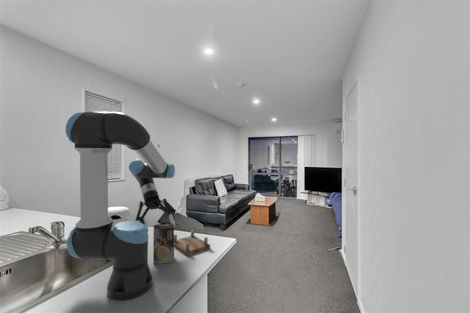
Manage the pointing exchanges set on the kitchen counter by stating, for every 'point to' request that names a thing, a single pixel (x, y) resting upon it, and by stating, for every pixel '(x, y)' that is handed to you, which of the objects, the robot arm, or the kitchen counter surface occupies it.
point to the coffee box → (163, 243)
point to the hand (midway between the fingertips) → (161, 228)
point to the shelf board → (191, 244)
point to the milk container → (118, 214)
